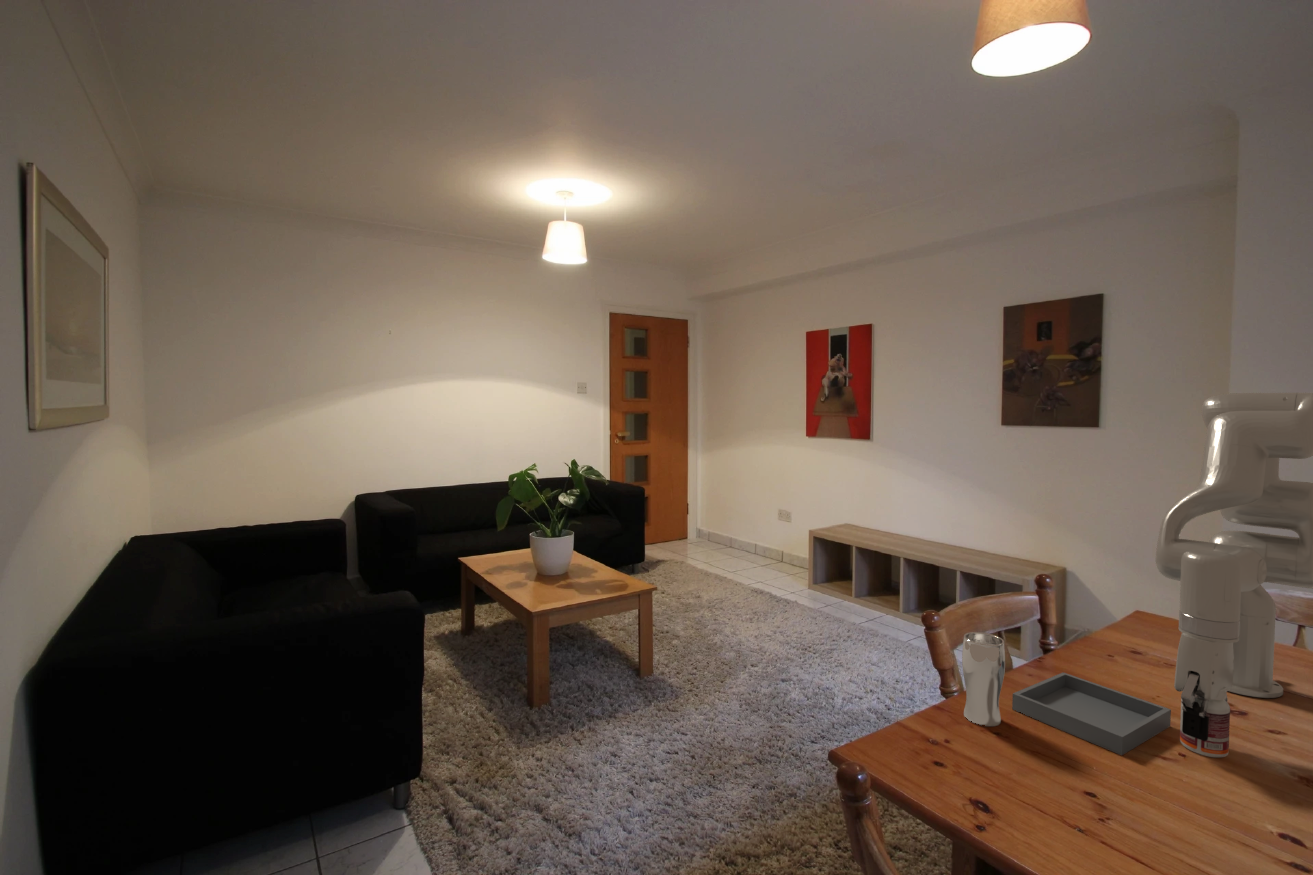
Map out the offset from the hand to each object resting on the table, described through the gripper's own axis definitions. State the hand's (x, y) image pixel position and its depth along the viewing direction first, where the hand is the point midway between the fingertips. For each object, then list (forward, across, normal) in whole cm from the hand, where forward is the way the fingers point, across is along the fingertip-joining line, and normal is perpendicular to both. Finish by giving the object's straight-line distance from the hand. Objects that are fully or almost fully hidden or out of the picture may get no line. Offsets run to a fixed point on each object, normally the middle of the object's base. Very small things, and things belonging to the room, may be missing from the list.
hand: (1204, 729), depth 104 cm
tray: (+3, +5, -15) cm, 16 cm away
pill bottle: (+3, 0, 0) cm, 3 cm away
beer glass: (+3, +22, -25) cm, 33 cm away
